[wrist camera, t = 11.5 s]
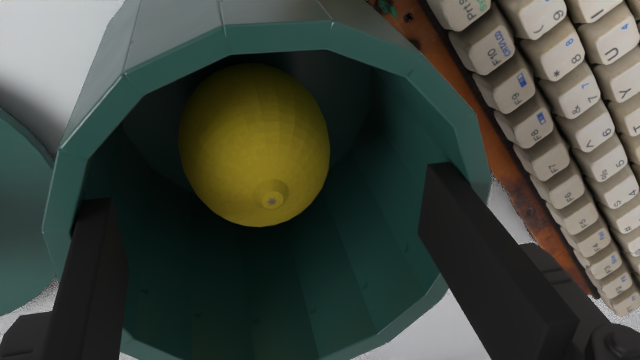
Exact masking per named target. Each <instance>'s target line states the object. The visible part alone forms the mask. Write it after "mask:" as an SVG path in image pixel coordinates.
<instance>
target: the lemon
mask: <svg viewBox="0 0 640 360" xmlns="http://www.w3.org/2000/svg"><path fill="white" fill-rule="evenodd" d="M178 148H179V153H180V158H181V162H182V167H183V170H184V173H185V175H186V177H187V179H188V180H189V182H190V184H191V186H192V188H193V189H194V191H195V193H196V194H197V196H198V197H199V198H200V199H201V200H202V201H203V202H204V203H205V204H206V205H207V206H208V207H209V208H210V209H211V210H212V211H213V212H214V213H216V214H217V215H219V216H221V217H223V218H224V219H226V220H228V221H230V222H233V223H237V224H240V225H244V226H252V227H264V226H271V225H276V224H279V223H282V222H285V221H288V220H290V219H291V218H293V217H295V216H296V215H298V214H300V213H301V212H302V211H303V210H305V209H306V208H307V207H308V206H309V205H310V204H311V203H312V202H313V200H314V199H315V198H316V196H317V195H318V193H319V192H320V190H321V189H322V187H323V184H324V181H325V179H326V176H327V173H328V168H329V158H330V143H329V137H328V131H327V126H326V122H325V119H324V117H323V114H322V112H321V110H320V108H319V106H318V104H317V102H316V100H315V99H314V97H313V96H312V95H311V94H310V93H309V92H308V91H307V90H306V88H305V87H304V86H303V85H302V84H301V83H300V82H299V81H298V80H297V79H295V78H294V77H292V76H290V75H289V74H287V73H286V72H284V71H282V70H281V69H278V68H275V67H272V66H269V65H265V64H261V63H241V64H236V65H231V66H227V67H225V68H223V69H220V70H218V71H216V72H214V73H212V74H211V75H210V76H208V77H207V78H206V79H205V80H203V81H202V82H201V83H200V84H199V85H198V86H197V87H196V89H195V90H194V92H193V93H192V94H191V96H190V97H189V98H188V100H187V102H186V105H185V108H184V110H183V113H182V115H181V118H180V123H179V134H178Z"/></svg>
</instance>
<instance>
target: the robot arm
mask: <svg viewBox="0 0 640 360" xmlns="http://www.w3.org/2000/svg"><path fill="white" fill-rule="evenodd" d="M417 234H418V236H419V237H420V239H421V241H422V243H423V244H424V246H425V248H426V249H427V251H428V253H429V254H430V256H431V258H432V259H433V261H434V263H435V265H436V266H437V268H438V270H439V271H440V273H441V275H442V276H443V278H444V280H445V281H446V283H447V285H448V287H449V288H450V290H451V292H452V293H453V295H454V297H455V298H456V300H457V302H458V304H459V305H460V307H461V309H462V310H463V312H464V314H465V315H466V317H467V319H468V320H469V322H470V324H471V326H472V327H473V329H474V331H475V332H476V334H477V336H478V337H479V339H480V341H481V342H482V344H483V346H484V348H485V349H486V351H487V353H488V354H489V356H490V358H491V359H492V360H640V333H639V332H637V331H635V330H633V329H632V328H630V327H627V326H623V325H620V324H614V323H611V322H610V321H609V320H608V319H607V318H606V316H605V315H604V314H603V313H602V312H601V311H600V310H599V308H598V307H597V306H596V305H595V304H594V303H593V302H592V301H591V299H590V298H589V297H588V296H587V295H586V294H585V293H584V291H583V290H582V289H581V288H580V287H579V286H578V285H577V283H576V282H573V280H572V278H571V277H570V275H569V274H568V273H567V272H566V271H563V268H562V266H561V265H560V264H559V263H558V262H557V261H556V260H555V258H554V257H553V256H552V255H551V254H550V253H548V252H547V251H545V250H544V249H542V248H541V247H539V246H537V245H536V244H534V243H528V244H520V245H518V244H517V242H516V241H515V240H514V239H513V237H512V236H511V235H510V234H509V233H508V231H507V230H506V229H505V228H504V227H503V225H502V224H501V223H500V222H499V220H498V219H497V218H496V217H495V216H494V214H493V213H492V212H491V211H490V209H489V208H488V207H487V206H486V205H485V203H484V202H483V201H482V200H481V198H480V197H479V196H478V195H477V194H476V192H475V191H474V190H473V189H472V188H471V186H470V185H469V184H468V183H467V181H466V180H465V179H464V178H463V177H462V175H461V174H460V173H459V172H458V170H457V169H456V168H455V167H454V166H453V164H452V163H451V162H442V163H432V164H427V170H426V177H425V183H424V190H423V197H422V204H421V211H420V218H419V225H418V232H417ZM128 279H129V267H128V263H127V259H126V255H125V251H124V247H123V242H122V238H121V234H120V230H119V226H118V222H117V218H116V213H115V209H114V205H113V201H112V197H108V198H98V199H88V200H82V203H81V207H80V211H79V214H78V218H77V222H76V225H75V229H74V233H73V236H72V240H71V244H70V248H69V251H68V255H67V259H66V262H65V266H64V270H63V273H62V277H61V281H60V284H59V288H58V292H57V295H56V299H55V303H54V306H53V310H52V311H50V312H43V313H36V314H29V315H21V316H19V318H18V319H17V320H16V321H15V322H14V323H13V325H12V326H11V327H10V328H9V329H8V330H7V332H6V333H5V334H4V336H3V339H2V342H1V345H0V360H119V354H120V345H121V337H122V329H123V320H124V312H125V304H126V295H127V287H128Z"/></svg>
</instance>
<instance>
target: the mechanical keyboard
mask: <svg viewBox="0 0 640 360" xmlns="http://www.w3.org/2000/svg"><path fill="white" fill-rule="evenodd" d="M369 2H370V4H371V5H372V7H373V8H374V9H375V10H376V11H377V12H378V13H379V14H380V15H381V16H382V17H383V18H384V19H386V20H387V21H388V22H389V23H390V24H391V25H392V26H393V27H394V28H395V29H396V30H397V31H398V32H399V33H401V34H402V35H403V36H404V37H405V38H406V39H407V40H408V41H409V42H410V43H411V44H412V45H413V46H414V47H416V48H417V49H418V50H419V51H420V52H421V53H422V54H423V55H424V56H425V57H426V58H427V59H428V60H429V61H430V63H431V64H432V65H433V66H434V67H435V68H436V69H437V70H438V71H439V72H440V74H441V75H442V76H443V77H444V78H445V79H446V80H447V81H448V82H449V83H450V85H451V86H452V87H453V88H454V89H455V90H456V91H457V92H458V93H459V95H460V96H461V97H462V98H463V99H464V100H465V101H466V102H467V103H468V104H469V106H470V107H471V108H472V109H473V110H474V113H475V114H476V115H477V119H478V123H479V128H480V132H481V136H482V140H483V144H484V148H485V153H486V157H487V161H488V165H489V167H490V169H491V171H492V173H493V175H494V176H495V178H496V179H497V180H498V181H500V182H501V185H502V187H503V188H504V189H505V190H506V191H507V194H508V195H509V197H510V198H511V202H512V204H513V206H514V208H515V210H516V211H517V214H518V215H519V216H520V217H521V218H522V219H523V221H524V224H525V225H526V227H527V230H528V232H529V234H530V235H531V237H532V238H533V239H534V240H535V241H536V242H537V243H538V245H539V247H541V248H542V249H544V250H545V251H547V252H548V253H550V254H551V255H552V256H553V257H554V258H555V260H556V261H557V262H558V263H559V264H560V265H561V266H562V268H563V271H566V272H567V273H568V274H569V275H570V277H571V278H572V280H573V282H576V283H577V285H578V286H579V287H580V288H581V289H582V290H583V291H584V293H585V294H586V295H588V294H590V295H592V296H593V298H594V299H599V298H601V299H602V300H603V302H604V303H605V304H606V305H607V306H608V308H609V309H611V310H613V311H614V313H615V314H616V315H617V316H619V317H623V316H626V315H628V314H630V313H631V312H632V311H634V310H636V309H637V308H638V307H639V306H640V0H369ZM408 13H410V14H411V15H412V19H411V20H407V19H406V15H407V14H408Z"/></svg>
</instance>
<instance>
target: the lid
mask: <svg viewBox="0 0 640 360" xmlns="http://www.w3.org/2000/svg"><path fill="white" fill-rule="evenodd" d="M54 163H55V161H54V160H53V158H52V157H51V156H50V154H49V153H48V152H47V150H46V149H45V148H44V146H43V145H42V144H41V143H40V142H39V141H38V140H37V139H36V138H35V137H34V136H33V135H32V134H31V133H30V132H29V130H28V129H26V128H25V127H24V126H23V125H22V124H20V123H19V122H18V121H17V120H16V119H14V118H13V117H12V116H11V115H10V114H8V113H7V112H5V111H4V110H2V109H1V108H0V316H3V315H5V314H8V313H10V312H12V311H14V310H16V309H17V308H19V307H21V306H23V305H25V304H26V303H28V302H29V301H31V300H32V299H33V298H35V297H36V296H38V295H39V294H40V293H41V292H42V291H43V290H44V289H45V288H46V287H47V286H48V285H49V284H50V283H51V282H52V281H53V279H54V278H55V277H56V276H57V275H56V273H55V270H54V267H53V264H52V261H51V258H50V255H49V252H48V249H47V246H46V244H45V241H44V238H43V235H42V230H41V226H42V221H43V216H44V211H45V206H46V202H47V197H48V192H49V187H50V182H51V177H52V173H53V168H54Z"/></svg>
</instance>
